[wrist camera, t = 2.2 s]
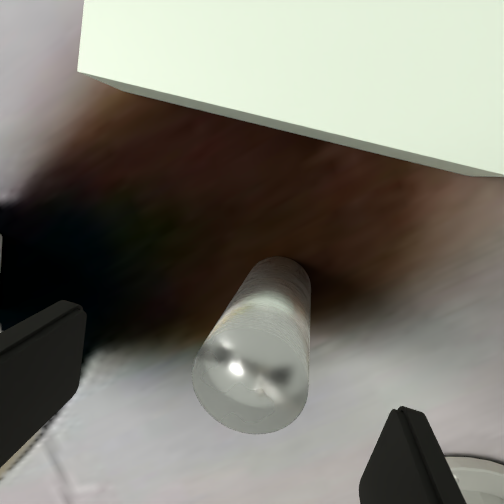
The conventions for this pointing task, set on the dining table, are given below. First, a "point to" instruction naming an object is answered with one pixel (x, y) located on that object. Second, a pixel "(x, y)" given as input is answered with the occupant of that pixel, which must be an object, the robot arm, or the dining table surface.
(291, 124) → the socket
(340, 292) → the dining table surface
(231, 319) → the pin
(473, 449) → the dining table surface
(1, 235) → the coffee box
